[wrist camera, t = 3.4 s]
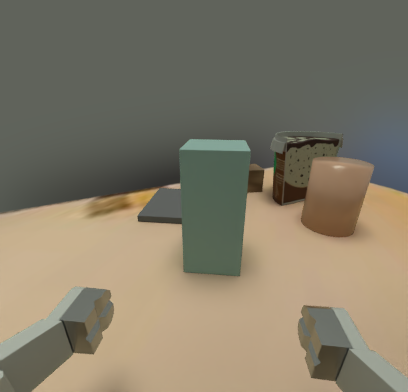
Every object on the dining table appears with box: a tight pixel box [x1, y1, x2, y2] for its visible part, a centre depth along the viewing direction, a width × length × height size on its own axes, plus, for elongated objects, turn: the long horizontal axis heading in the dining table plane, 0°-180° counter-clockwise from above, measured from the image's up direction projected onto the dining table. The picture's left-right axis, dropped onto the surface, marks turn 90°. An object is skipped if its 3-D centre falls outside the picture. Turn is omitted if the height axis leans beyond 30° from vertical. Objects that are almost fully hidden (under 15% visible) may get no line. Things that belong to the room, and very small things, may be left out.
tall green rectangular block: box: [179, 139, 251, 276], centre depth 20 cm, size 5×5×11 cm
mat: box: [138, 188, 182, 224], centre depth 32 cm, size 10×10×1 cm
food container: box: [270, 131, 343, 206], centre depth 35 cm, size 12×6×10 cm, turn 115°
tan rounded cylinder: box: [301, 157, 374, 237], centre depth 26 cm, size 6×6×8 cm
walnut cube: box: [247, 164, 264, 192], centre depth 39 cm, size 4×4×4 cm
